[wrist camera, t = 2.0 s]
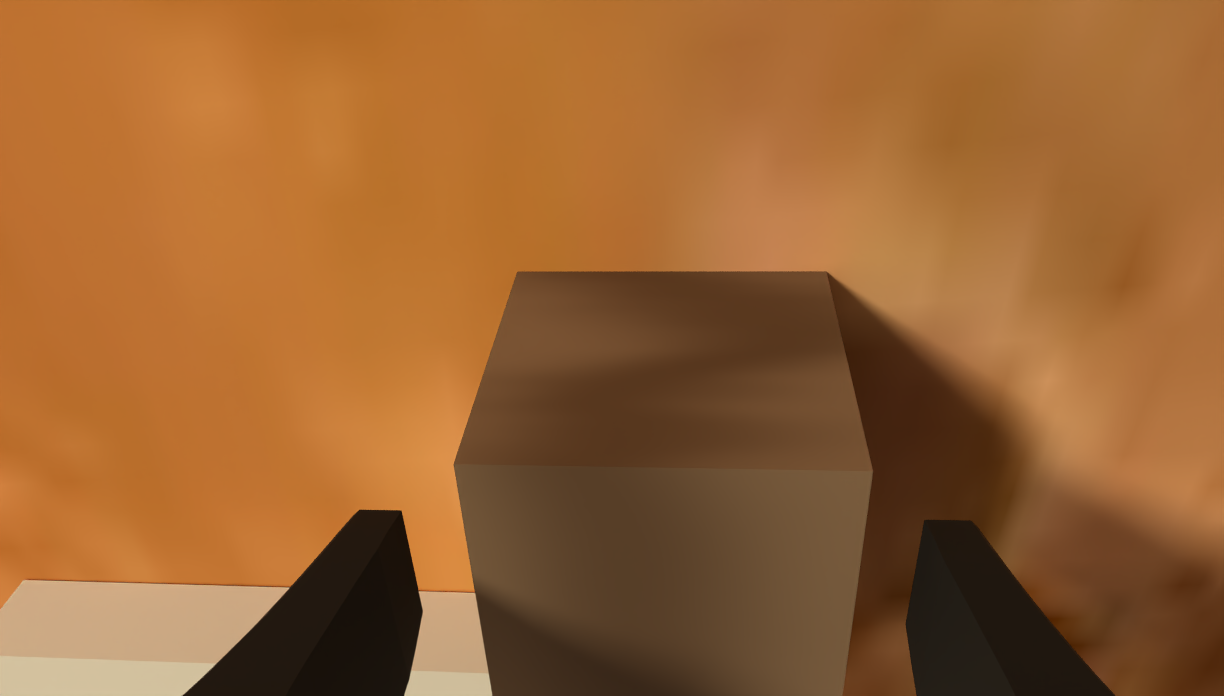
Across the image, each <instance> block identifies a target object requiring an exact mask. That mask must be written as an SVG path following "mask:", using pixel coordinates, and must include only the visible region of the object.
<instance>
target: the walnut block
mask: <svg viewBox="0 0 1224 696" xmlns="http://www.w3.org/2000/svg"><path fill="white" fill-rule="evenodd" d="M454 469H455V475H456V481H457V487H458V493H459V499H460V505H461V511H462V517H463V523H464V529H465V535H466V541H467V547H468V553H469V559H470V565H471V571H472V577H473V583H474V589H475V595H476V601H477V607H478V613H479V619H480V625H481V631H482V637H483V643H484V649H485V655H486V661H487V667H488V673H489V679H490V685H491V691H492V696H843V689H844V682H845V674H846V667H847V659H848V652H849V645H850V637H851V630H852V623H853V615H854V608H855V601H856V593H857V586H858V578H859V571H860V564H861V556H862V549H863V542H864V534H865V527H866V520H867V512H868V505H869V497H870V490H871V483H872V475H873V469H872V465H871V460H870V456H869V452H868V447H867V443H866V439H865V435H864V430H863V426H862V422H861V417H860V413H859V409H858V404H857V400H856V396H855V392H854V387H853V383H852V379H851V374H850V370H849V366H848V362H847V357H846V353H845V349H844V344H843V340H842V336H841V331H840V327H839V323H838V319H837V314H836V310H835V306H834V301H833V297H832V293H831V288H830V284H829V280H828V276H827V272H517V274H516V277H515V280H514V283H513V286H512V289H511V292H510V295H509V299H508V302H507V305H506V308H505V311H504V314H503V317H502V320H501V323H500V326H499V329H498V332H497V335H496V338H495V341H494V344H493V347H492V350H491V353H490V356H489V359H488V362H487V365H486V368H485V371H484V374H483V377H482V380H481V383H480V386H479V389H478V392H477V395H476V398H475V401H474V404H473V407H472V410H471V413H470V416H469V419H468V422H467V425H466V428H465V431H464V434H463V437H462V440H461V443H460V446H459V449H458V452H457V456H456V459H455V462H454Z"/></svg>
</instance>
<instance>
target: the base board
mask: <svg viewBox="0 0 1224 696" xmlns="http://www.w3.org/2000/svg"><path fill="white" fill-rule="evenodd" d="M288 589H289V588H288V587H253V586H218V585H184V584H149V583H114V582H79V581H44V580H23V581H22V583H21V584H20V585H19V587H18V588H17V589H16V590H15V592H14V593H13V594H12V595H11V597H10V598H9V599H8V600H7V602H6V603H5V604H4V606H3V607H2V608H1V609H0V696H182V695H183V694H185V693H186V692H187V691H188V690H189V689H190V688H191V687H192V686H193V685H194V684H195V683H197V682H198V681H199V680H200V679H201V678H202V677H203V676H204V675H205V674H206V673H207V672H208V671H209V670H210V669H211V668H212V667H213V666H214V665H215V664H216V663H217V662H219V661H220V660H221V659H222V658H223V657H224V656H225V655H226V654H227V653H228V652H229V651H230V650H231V649H232V648H233V647H234V646H235V645H236V644H237V643H238V642H239V641H240V640H241V639H242V638H243V637H244V636H245V635H246V634H247V633H248V632H249V631H250V630H251V629H252V628H253V627H254V626H255V625H256V624H257V623H258V622H259V620H260V619H261V618H262V617H263V616H264V615H265V614H266V613H267V612H268V611H269V610H270V609H271V608H272V606H273V605H274V604H275V603H276V602H277V601H278V600H279V599H280V598H281V597H282V596H283V595H284V594H285V592H286V591H287V590H288ZM419 595H420V600H421V604H422V609H423V614H422V619H421V625H420V630H419V635H418V640H417V645H416V650H415V655H414V660H413V664H412V669H411V674H410V678H409V682H408V685H407V688H406V691H405V694H404V696H492V691H491V685H490V679H489V673H488V667H487V661H486V655H485V649H484V643H483V637H482V631H481V625H480V619H479V613H478V607H477V601H476V595H475V593H463V592H428V591H419Z"/></svg>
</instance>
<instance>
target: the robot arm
mask: <svg viewBox="0 0 1224 696" xmlns="http://www.w3.org/2000/svg"><path fill="white" fill-rule="evenodd" d="M422 614H423V609H422V604H421V600H420V595H419V590H418V586H417V581H416V576H415V572H414V567H413V562H412V558H411V553H410V548H409V544H408V539H407V534H406V530H405V525H404V520H403V516H402V511H398V510H359V511H358V512H357V513H356V514H355V515H353V517H352V518H351V519H350V520H349V521H348V522H347V523H346V524H345V526H344V527H343V528H342V529H341V530H340V531H339V532H338V534H337V535H336V536H335V537H334V538H333V539H332V541H331V542H330V543H329V544H328V545H327V546H326V547H325V549H324V550H323V551H322V552H321V553H320V554H319V556H318V557H317V558H316V559H315V560H314V561H313V562H312V564H311V565H310V566H309V567H308V568H307V569H306V570H305V571H304V573H303V574H302V575H301V576H300V577H299V578H298V579H297V580H296V582H295V583H294V584H293V585H292V586H291V587H290V588H289V589H288V590H287V591H286V592H285V594H284V595H283V596H282V597H281V598H280V599H279V600H278V601H277V602H276V603H275V604H274V605H273V606H272V608H271V609H270V610H269V611H268V612H267V613H266V614H265V615H264V616H263V617H262V618H261V619H260V620H259V622H258V623H257V624H256V625H255V626H254V627H253V628H252V629H251V630H250V631H249V632H248V633H247V634H246V635H245V636H244V637H243V638H242V639H241V640H240V641H239V642H238V643H237V644H236V645H235V646H234V647H233V648H232V649H231V650H230V651H229V652H228V653H227V654H226V655H225V656H224V657H223V658H222V659H221V660H220V661H219V662H217V663H216V664H215V665H214V666H213V667H212V668H211V669H210V670H209V671H208V672H207V673H206V674H205V675H204V676H203V677H202V678H201V679H200V680H199V681H198V682H197V683H195V684H194V685H193V686H192V687H191V688H190V689H189V690H188V691H187V692H186V693H185V694H183V695H182V696H404V694H405V691H406V688H407V685H408V682H409V678H410V674H411V669H412V664H413V660H414V655H415V650H416V645H417V640H418V635H419V630H420V625H421V619H422ZM906 630H907V637H908V644H909V650H910V657H911V664H912V670H913V676H914V682H915V688H916V694H917V696H1115V695H1114V694H1113V692H1112V691H1111V690H1110V689H1109V688H1108V687H1107V686H1106V685H1105V684H1104V683H1103V682H1102V681H1101V680H1100V679H1099V677H1098V676H1097V675H1096V674H1095V673H1094V672H1093V671H1092V670H1091V668H1090V667H1089V666H1088V665H1087V664H1086V663H1085V662H1084V661H1083V659H1082V658H1081V657H1080V656H1079V655H1078V654H1077V653H1076V651H1075V650H1074V649H1073V648H1072V647H1071V645H1070V644H1069V643H1068V642H1067V641H1066V640H1065V638H1064V637H1063V636H1062V635H1061V634H1060V632H1059V631H1058V630H1057V629H1056V628H1055V627H1054V625H1053V624H1052V623H1051V622H1050V621H1049V619H1048V618H1047V617H1046V616H1045V615H1044V613H1043V612H1042V611H1041V610H1040V608H1039V607H1038V606H1037V605H1036V603H1035V602H1034V601H1033V600H1032V598H1031V597H1030V596H1029V595H1028V593H1027V592H1026V591H1025V589H1024V588H1023V587H1022V586H1021V584H1020V583H1019V582H1018V580H1017V579H1016V578H1015V577H1014V575H1013V574H1012V573H1011V571H1010V570H1009V569H1008V567H1007V566H1006V565H1005V563H1004V562H1003V561H1002V559H1001V558H1000V557H999V555H998V554H997V553H996V551H995V550H994V549H993V547H992V546H991V545H990V543H989V542H988V541H987V539H986V538H985V537H984V535H983V534H982V532H981V531H980V530H979V528H978V527H977V526H976V525H975V524H974V523H973V522H972V521H961V520H924V525H923V531H922V536H921V542H920V548H919V553H918V559H917V564H916V570H915V575H914V581H913V586H912V592H911V597H910V603H909V609H908V614H907V620H906Z"/></svg>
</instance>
